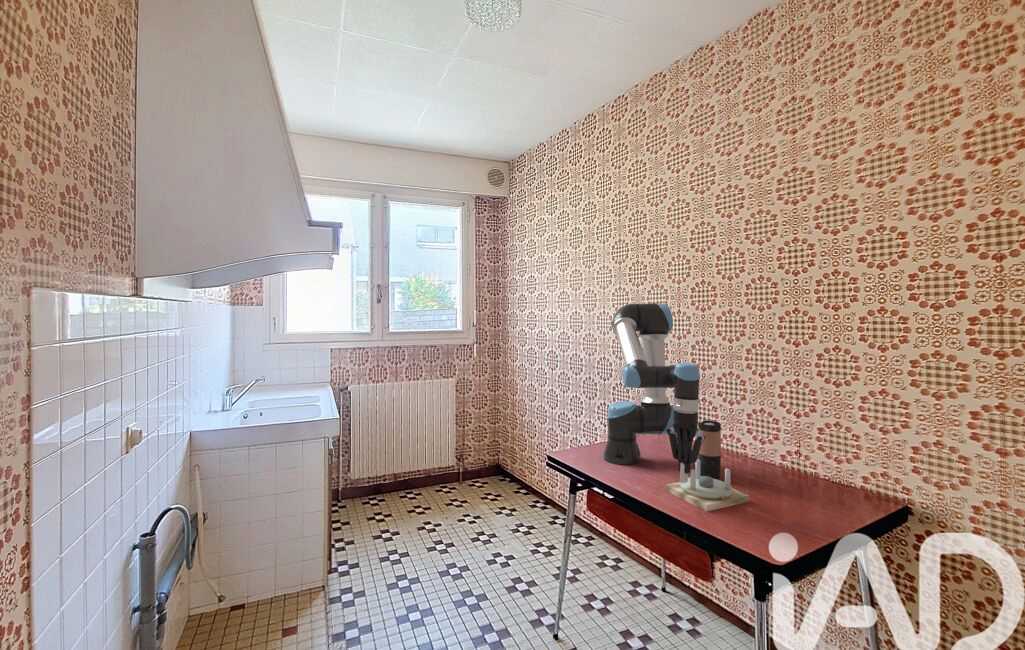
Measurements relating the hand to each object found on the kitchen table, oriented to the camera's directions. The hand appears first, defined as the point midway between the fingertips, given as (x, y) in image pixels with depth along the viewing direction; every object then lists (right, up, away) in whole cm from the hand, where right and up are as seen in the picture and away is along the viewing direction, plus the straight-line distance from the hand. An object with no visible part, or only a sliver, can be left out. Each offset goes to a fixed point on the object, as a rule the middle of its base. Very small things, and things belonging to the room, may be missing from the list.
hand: (683, 482), depth 150 cm
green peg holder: (+8, -3, +1) cm, 8 cm away
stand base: (+8, -5, +1) cm, 9 cm away
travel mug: (+17, -5, +19) cm, 26 cm away
